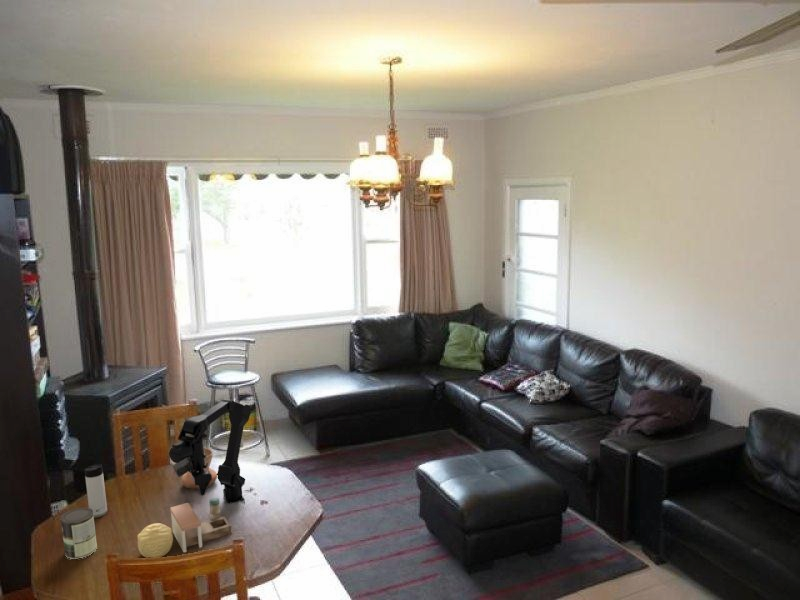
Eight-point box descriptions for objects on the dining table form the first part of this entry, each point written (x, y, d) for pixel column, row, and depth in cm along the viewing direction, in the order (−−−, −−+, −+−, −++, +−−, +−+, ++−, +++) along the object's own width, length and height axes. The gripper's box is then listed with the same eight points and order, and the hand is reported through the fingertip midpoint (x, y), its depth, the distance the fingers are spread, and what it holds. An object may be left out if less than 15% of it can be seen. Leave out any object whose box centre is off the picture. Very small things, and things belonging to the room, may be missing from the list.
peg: (218, 515, 247) (217, 496, 246) (221, 520, 244) (220, 500, 243) (209, 518, 246) (208, 499, 244) (212, 522, 243) (210, 503, 241)
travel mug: (101, 518, 247) (95, 470, 243) (86, 517, 248) (80, 468, 244) (111, 510, 253) (106, 463, 249) (96, 508, 254) (91, 461, 250)
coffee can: (59, 561, 220) (55, 523, 217) (72, 544, 230) (67, 508, 227) (90, 559, 220) (86, 521, 218) (101, 542, 231) (97, 506, 228)
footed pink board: (190, 526, 240) (188, 502, 239) (202, 547, 226) (200, 522, 225) (172, 531, 237) (170, 507, 235) (184, 553, 223) (181, 528, 221)
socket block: (224, 523, 242) (224, 516, 241) (231, 533, 235) (231, 525, 235) (180, 536, 233) (179, 529, 233) (185, 547, 227) (185, 539, 226)
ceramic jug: (218, 490, 268) (216, 458, 265) (181, 496, 263) (179, 463, 261) (216, 473, 285) (214, 442, 282) (182, 477, 280) (179, 447, 278)
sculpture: (139, 566, 216) (136, 537, 214) (138, 548, 227) (135, 520, 224) (175, 558, 220) (172, 529, 218) (172, 540, 231) (170, 513, 229)
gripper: (168, 448, 244) (172, 485, 247) (179, 466, 228) (183, 506, 231) (198, 441, 249) (201, 478, 252) (210, 459, 234) (214, 498, 237)
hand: (199, 490), depth 243 cm, fingers open, 9 cm apart
